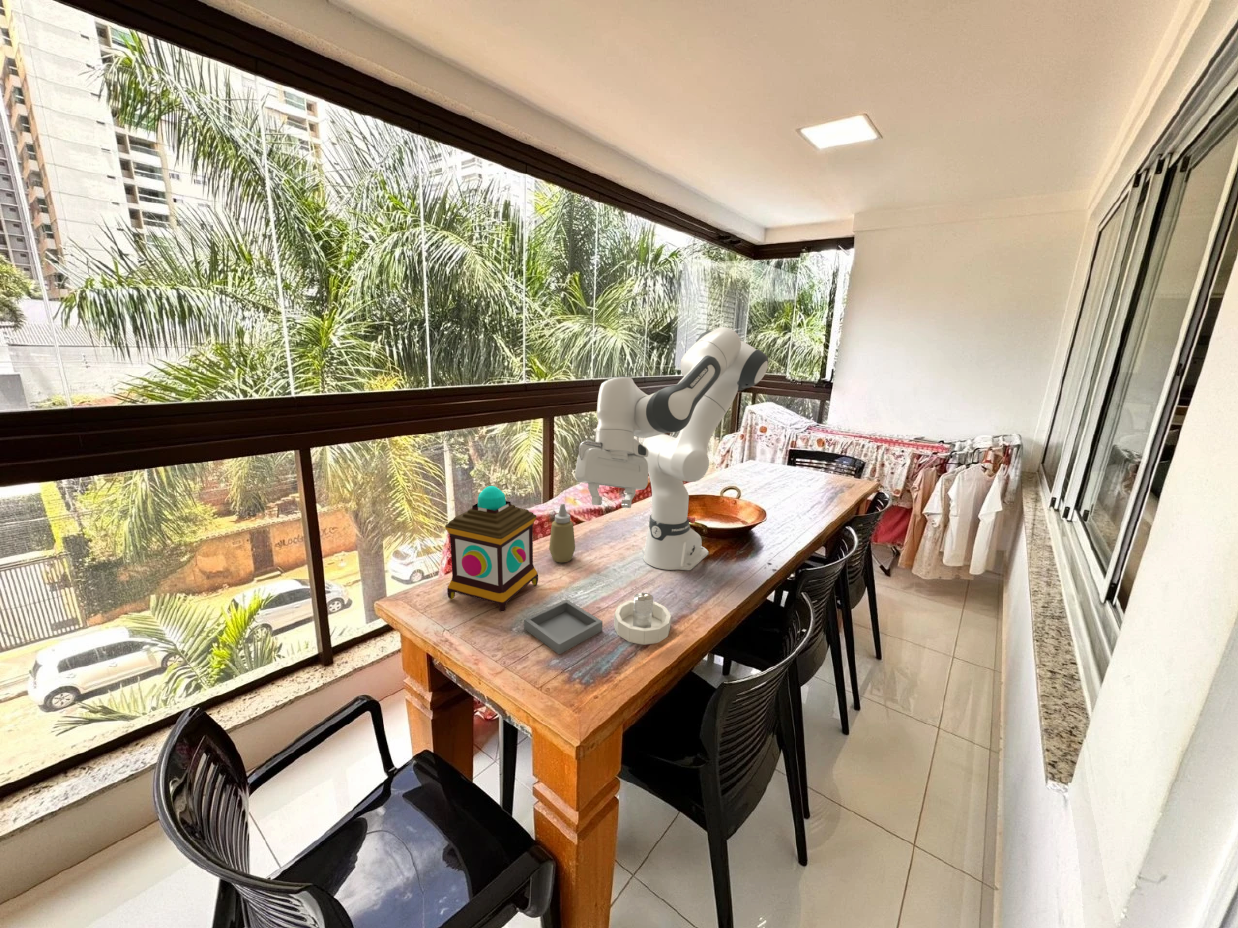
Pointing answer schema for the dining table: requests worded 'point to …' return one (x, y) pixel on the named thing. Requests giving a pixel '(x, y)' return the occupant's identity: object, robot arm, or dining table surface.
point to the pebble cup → (643, 610)
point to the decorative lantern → (492, 549)
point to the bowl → (642, 635)
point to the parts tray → (562, 626)
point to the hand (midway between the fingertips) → (611, 506)
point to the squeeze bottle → (562, 537)
